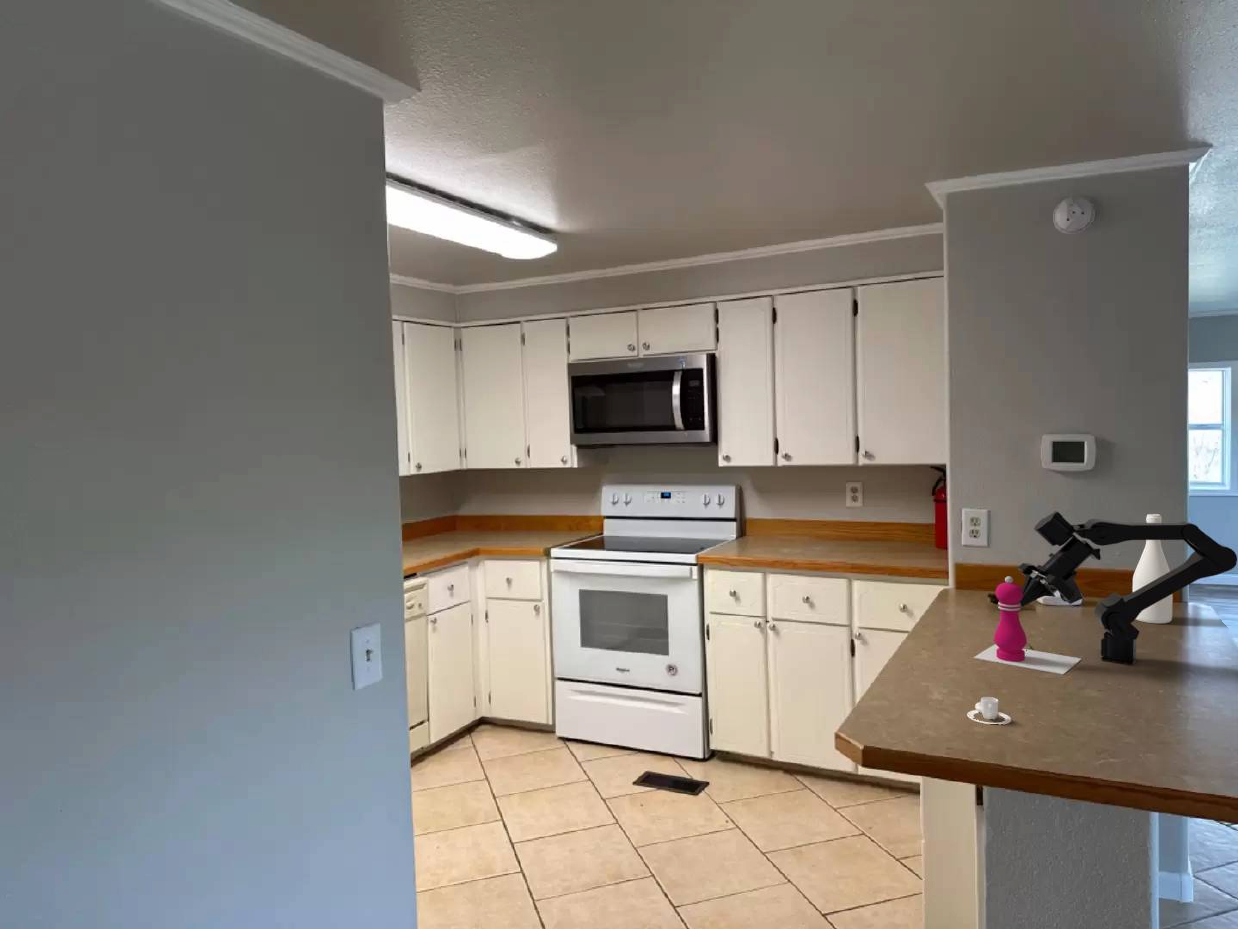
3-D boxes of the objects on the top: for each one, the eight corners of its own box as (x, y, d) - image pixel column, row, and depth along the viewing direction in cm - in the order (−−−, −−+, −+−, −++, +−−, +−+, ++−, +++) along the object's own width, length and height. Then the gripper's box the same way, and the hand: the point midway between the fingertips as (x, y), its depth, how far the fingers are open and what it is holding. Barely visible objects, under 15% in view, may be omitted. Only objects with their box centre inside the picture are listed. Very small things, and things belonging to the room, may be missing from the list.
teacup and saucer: (975, 708, 171) (975, 689, 171) (1017, 716, 166) (1017, 696, 166) (961, 721, 165) (961, 700, 164) (1004, 730, 160) (1004, 709, 159)
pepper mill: (1023, 663, 197) (1021, 580, 196) (991, 659, 202) (989, 578, 201) (1030, 655, 203) (1028, 574, 202) (998, 652, 207) (996, 572, 206)
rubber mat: (1081, 659, 201) (1081, 658, 201) (1063, 674, 190) (1063, 673, 190) (995, 644, 215) (995, 644, 214) (973, 658, 204) (973, 657, 204)
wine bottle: (1124, 618, 238) (1126, 514, 236) (1145, 614, 242) (1147, 511, 240) (1158, 626, 229) (1160, 517, 227) (1179, 621, 233) (1182, 515, 231)
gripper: (1111, 591, 192) (1061, 638, 193) (1072, 575, 210) (1026, 618, 212) (1077, 557, 192) (1027, 605, 193) (1040, 544, 210) (995, 588, 212)
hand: (1019, 605), depth 202 cm, fingers closed
